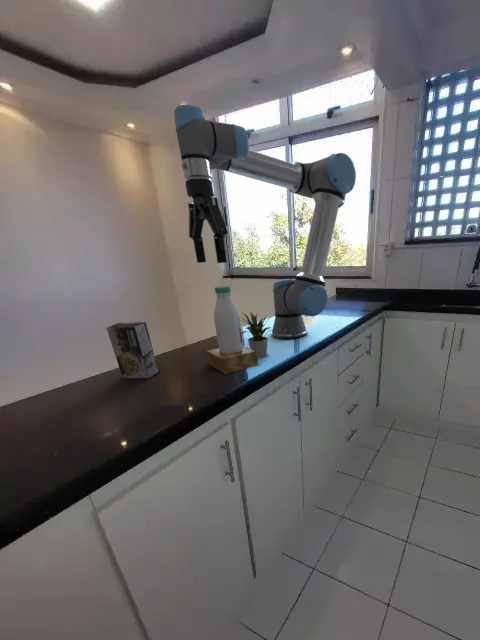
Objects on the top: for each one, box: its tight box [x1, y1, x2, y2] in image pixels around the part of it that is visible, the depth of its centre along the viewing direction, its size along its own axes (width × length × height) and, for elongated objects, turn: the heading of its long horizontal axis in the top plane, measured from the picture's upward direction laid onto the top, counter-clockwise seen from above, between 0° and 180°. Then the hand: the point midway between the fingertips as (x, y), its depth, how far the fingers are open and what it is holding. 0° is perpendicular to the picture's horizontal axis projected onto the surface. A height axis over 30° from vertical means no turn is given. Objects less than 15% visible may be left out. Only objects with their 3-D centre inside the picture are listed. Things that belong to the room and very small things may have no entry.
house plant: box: [239, 311, 275, 359], centre depth 109 cm, size 14×14×16 cm
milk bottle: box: [213, 285, 244, 354], centre depth 97 cm, size 8×8×20 cm
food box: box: [105, 321, 159, 379], centre depth 95 cm, size 9×6×16 cm
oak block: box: [206, 345, 259, 375], centre depth 103 cm, size 12×12×5 cm
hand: (211, 262), depth 96 cm, fingers open, 13 cm apart
